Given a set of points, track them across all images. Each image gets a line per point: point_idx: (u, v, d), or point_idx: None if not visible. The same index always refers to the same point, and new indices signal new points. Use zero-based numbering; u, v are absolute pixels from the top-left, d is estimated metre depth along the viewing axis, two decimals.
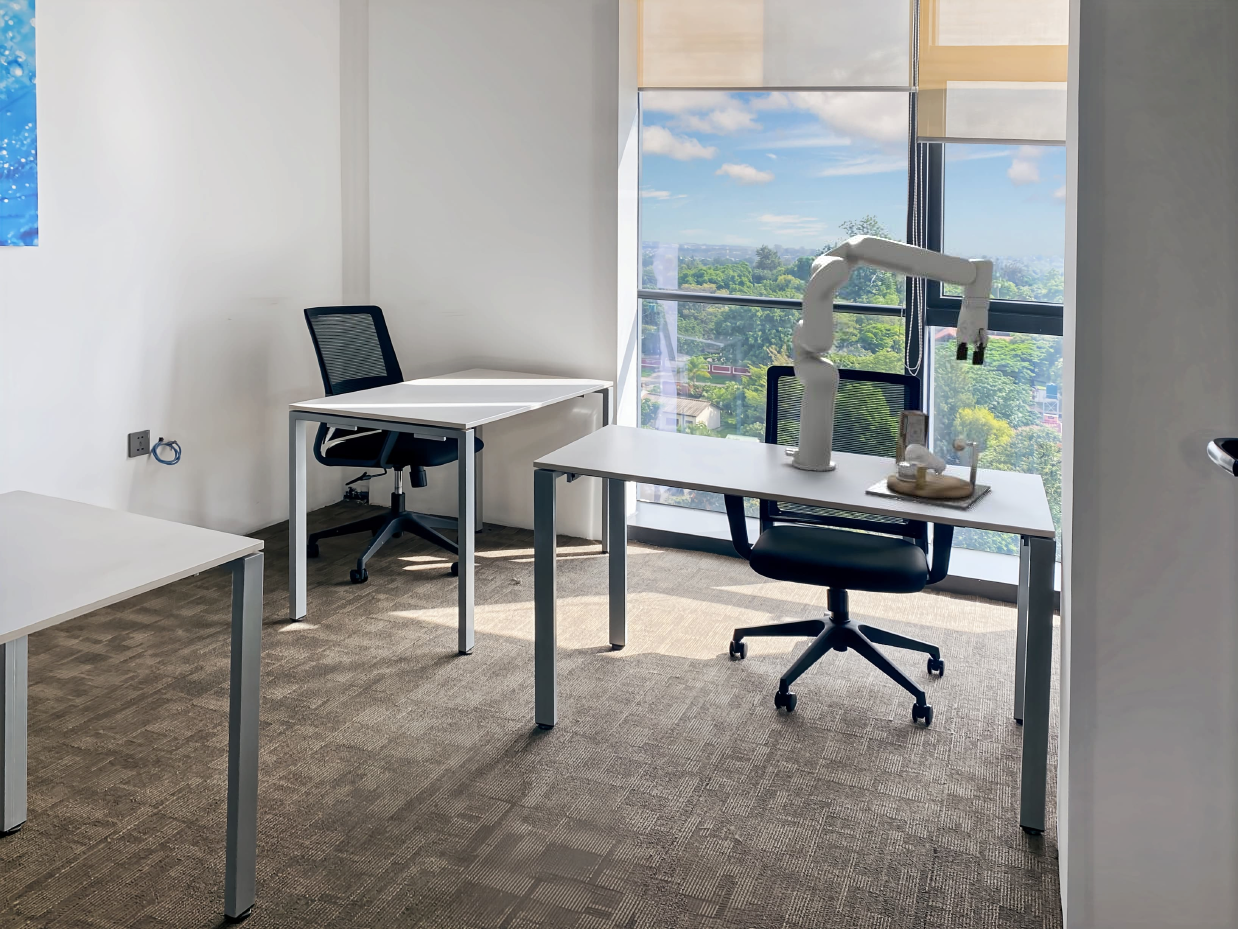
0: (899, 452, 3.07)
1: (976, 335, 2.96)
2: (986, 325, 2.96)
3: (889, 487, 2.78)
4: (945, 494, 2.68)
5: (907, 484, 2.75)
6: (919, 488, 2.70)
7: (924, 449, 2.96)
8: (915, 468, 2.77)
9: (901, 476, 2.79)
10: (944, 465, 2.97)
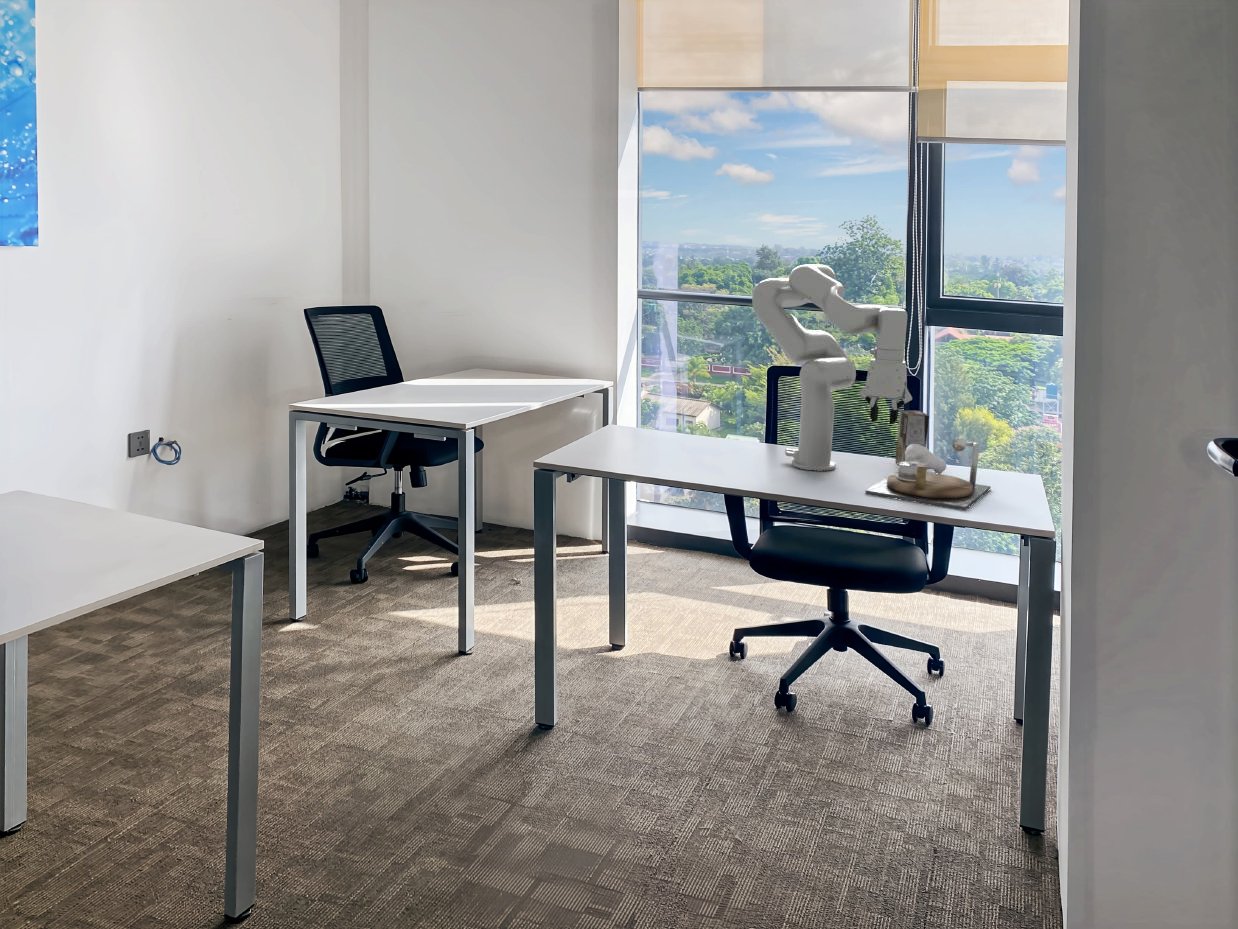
0: (899, 452, 3.07)
1: (903, 390, 2.76)
2: (906, 378, 2.78)
3: (889, 487, 2.78)
4: (945, 494, 2.68)
5: (907, 484, 2.75)
6: (919, 488, 2.70)
7: (924, 449, 2.96)
8: (915, 468, 2.77)
9: (901, 476, 2.79)
10: (944, 465, 2.97)
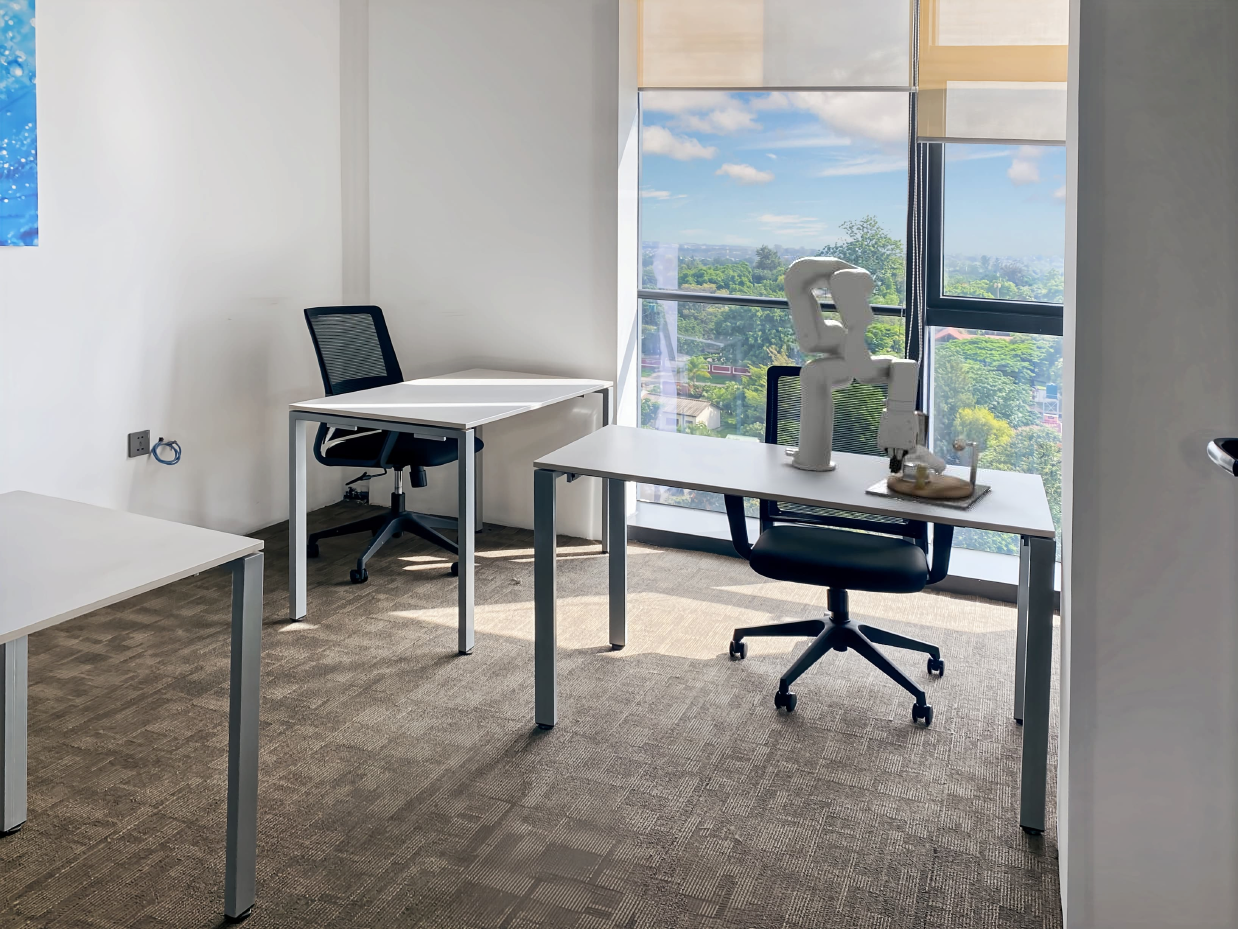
0: None
1: (915, 441, 2.77)
2: (918, 428, 2.79)
3: (889, 487, 2.78)
4: (945, 494, 2.68)
5: (907, 484, 2.75)
6: (919, 488, 2.70)
7: (924, 449, 2.96)
8: None
9: (905, 477, 2.79)
10: (944, 465, 2.97)
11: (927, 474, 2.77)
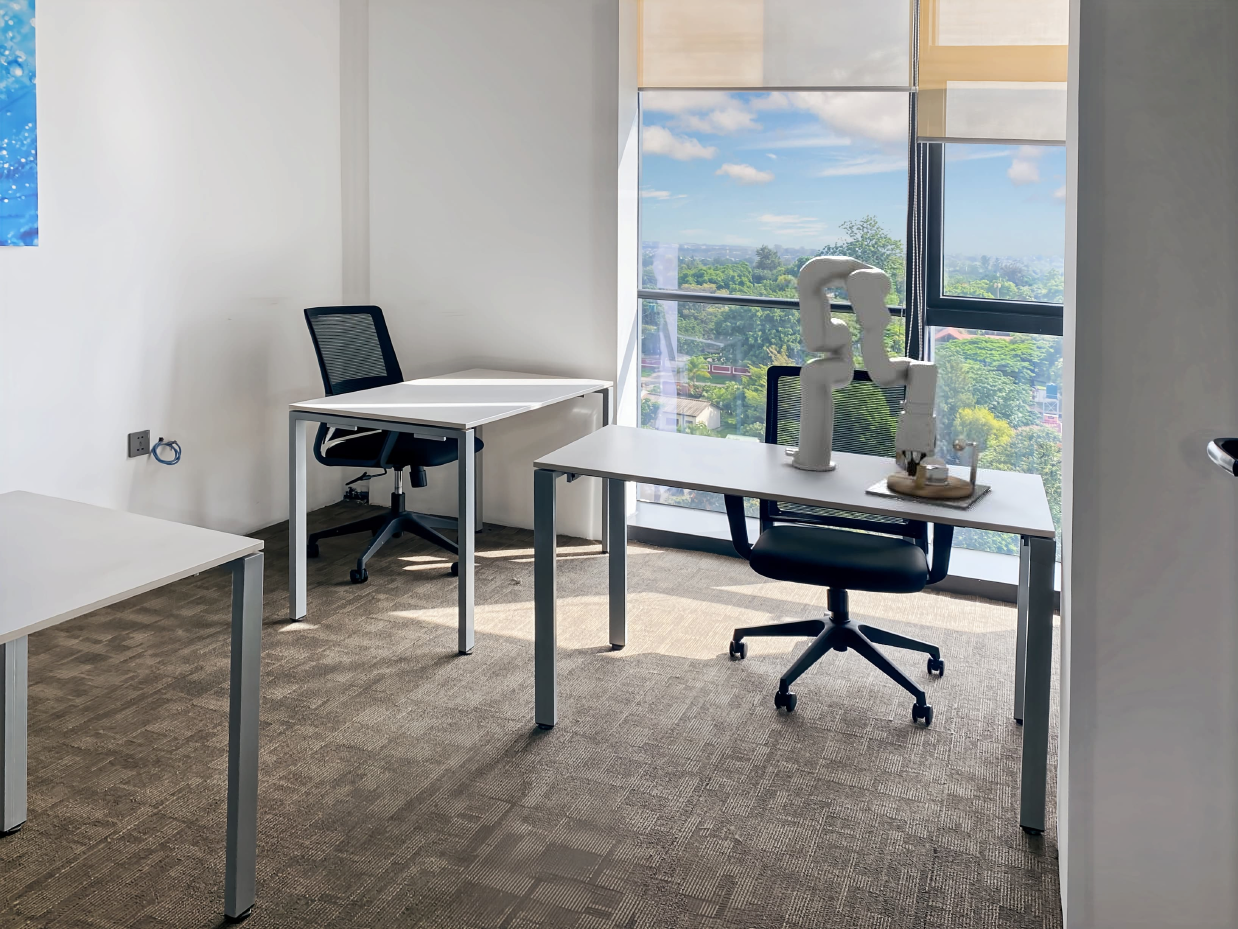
0: None
1: (933, 444, 2.75)
2: (936, 431, 2.76)
3: (889, 487, 2.78)
4: (945, 494, 2.68)
5: (907, 484, 2.75)
6: (919, 488, 2.70)
7: None
8: (937, 471, 2.74)
9: None
10: (944, 465, 2.97)
11: (945, 477, 2.75)
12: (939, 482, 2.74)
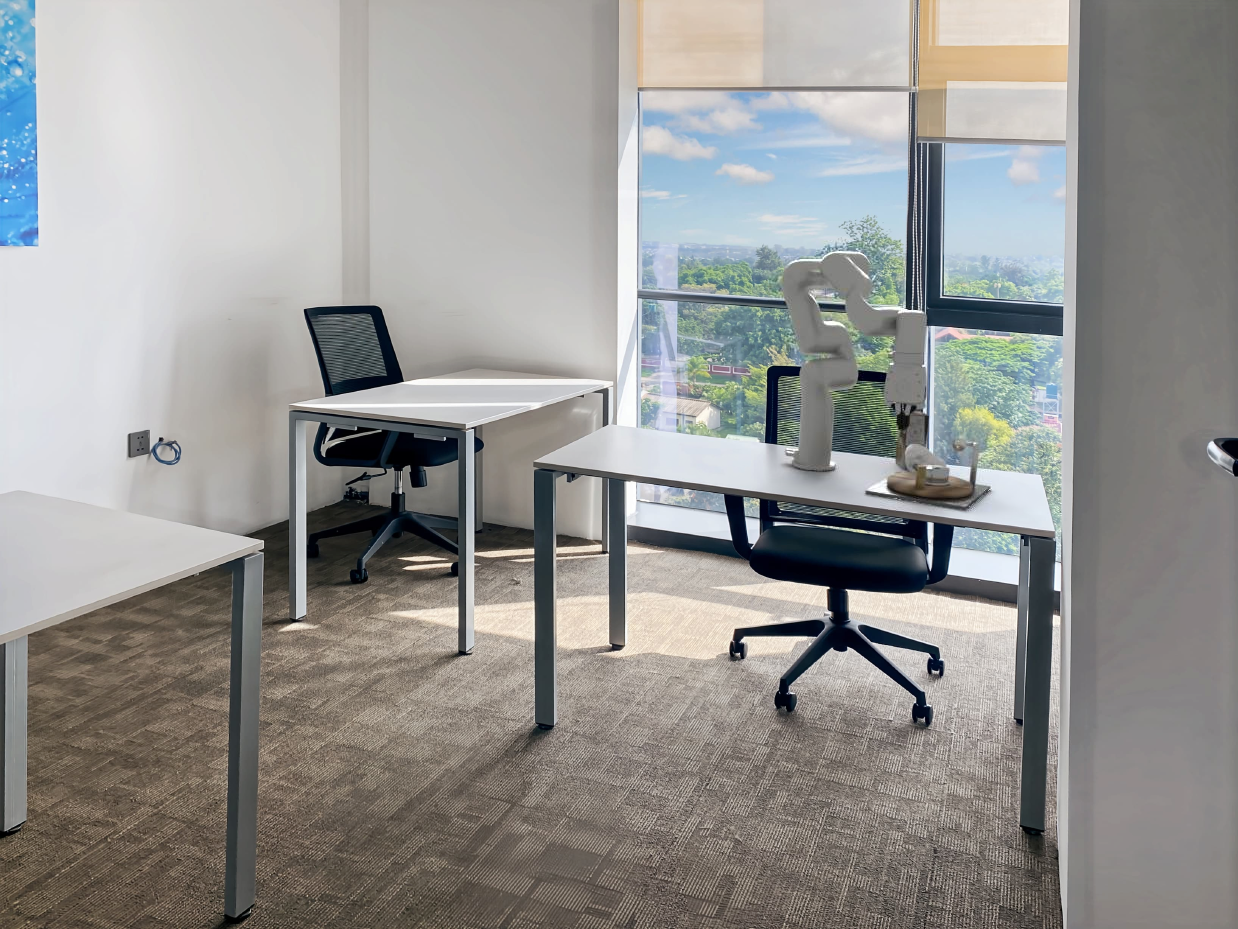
0: (899, 452, 3.07)
1: (923, 395, 2.66)
2: (926, 382, 2.68)
3: (889, 487, 2.78)
4: (945, 494, 2.68)
5: (907, 484, 2.75)
6: (919, 488, 2.70)
7: (924, 449, 2.96)
8: (938, 472, 2.73)
9: None
10: (944, 465, 2.97)
11: (946, 477, 2.75)
12: (940, 482, 2.74)
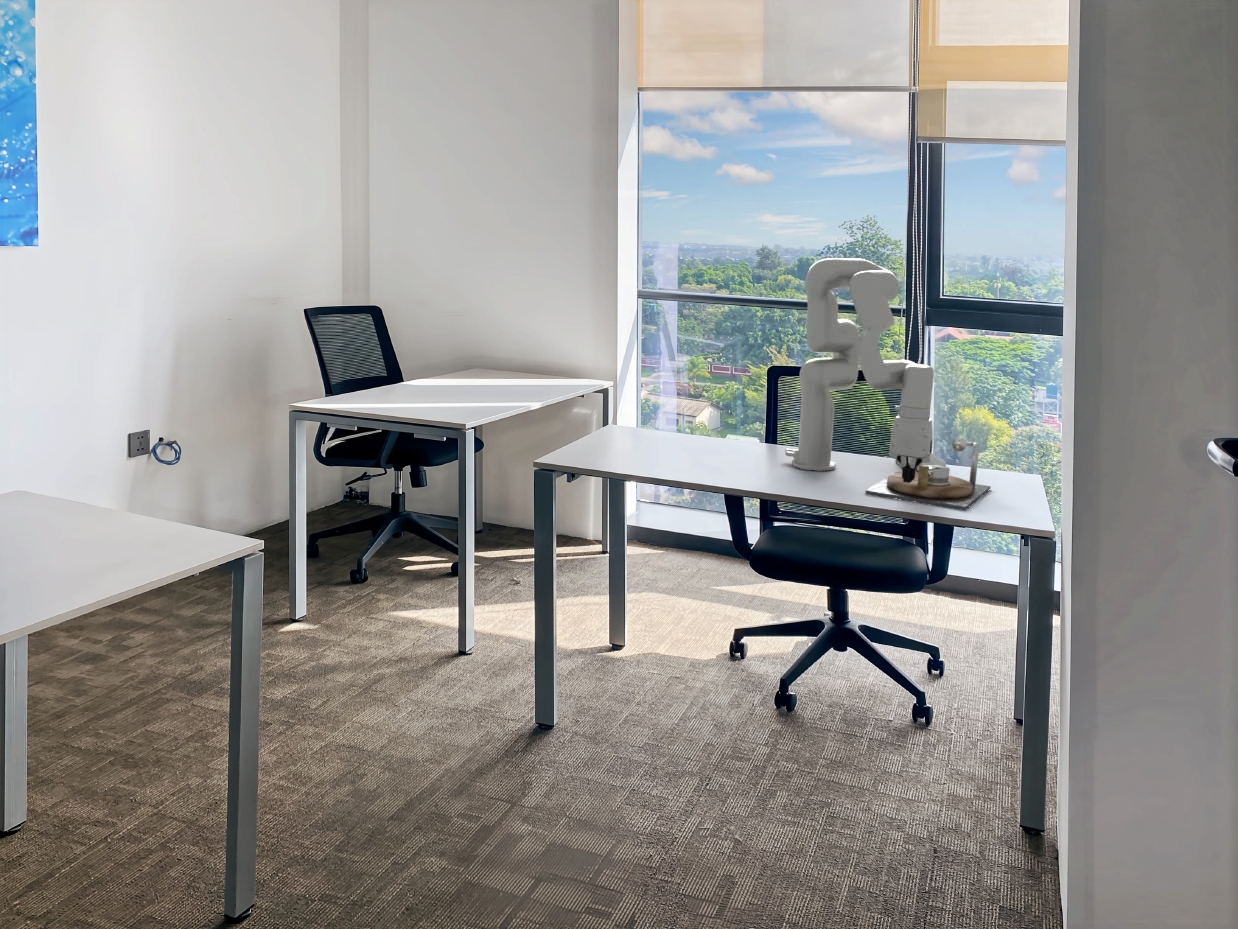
0: None
1: (929, 449, 2.67)
2: (932, 436, 2.69)
3: (889, 487, 2.78)
4: (948, 494, 2.68)
5: (908, 484, 2.75)
6: (921, 488, 2.69)
7: None
8: (939, 471, 2.74)
9: None
10: (944, 465, 2.97)
11: (947, 477, 2.75)
12: (941, 482, 2.74)
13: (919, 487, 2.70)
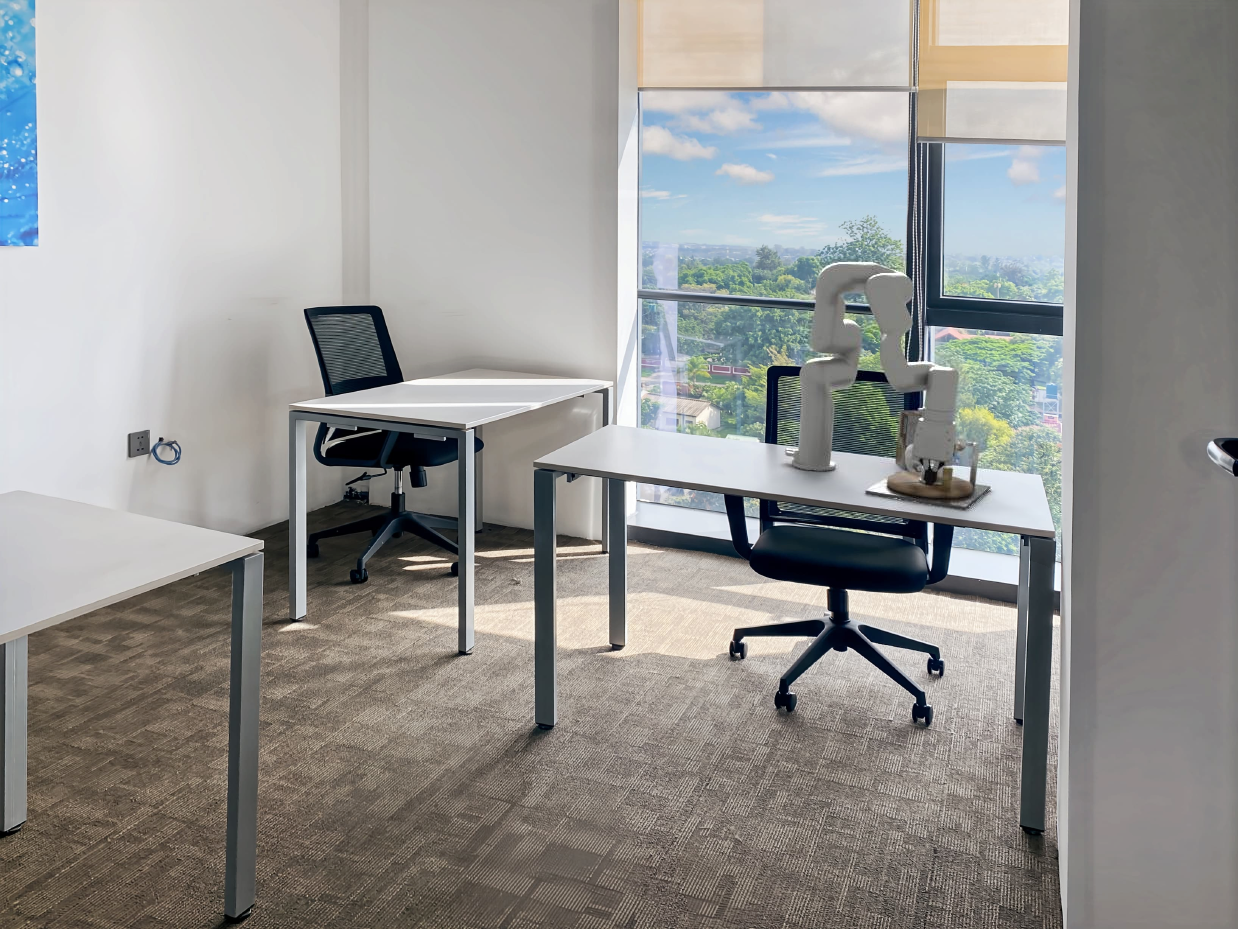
0: (899, 452, 3.07)
1: (952, 452, 2.65)
2: None
3: (889, 487, 2.78)
4: (968, 491, 2.71)
5: (926, 488, 2.71)
6: (948, 490, 2.69)
7: None
8: None
9: None
10: None
11: None
12: None
13: (946, 489, 2.68)
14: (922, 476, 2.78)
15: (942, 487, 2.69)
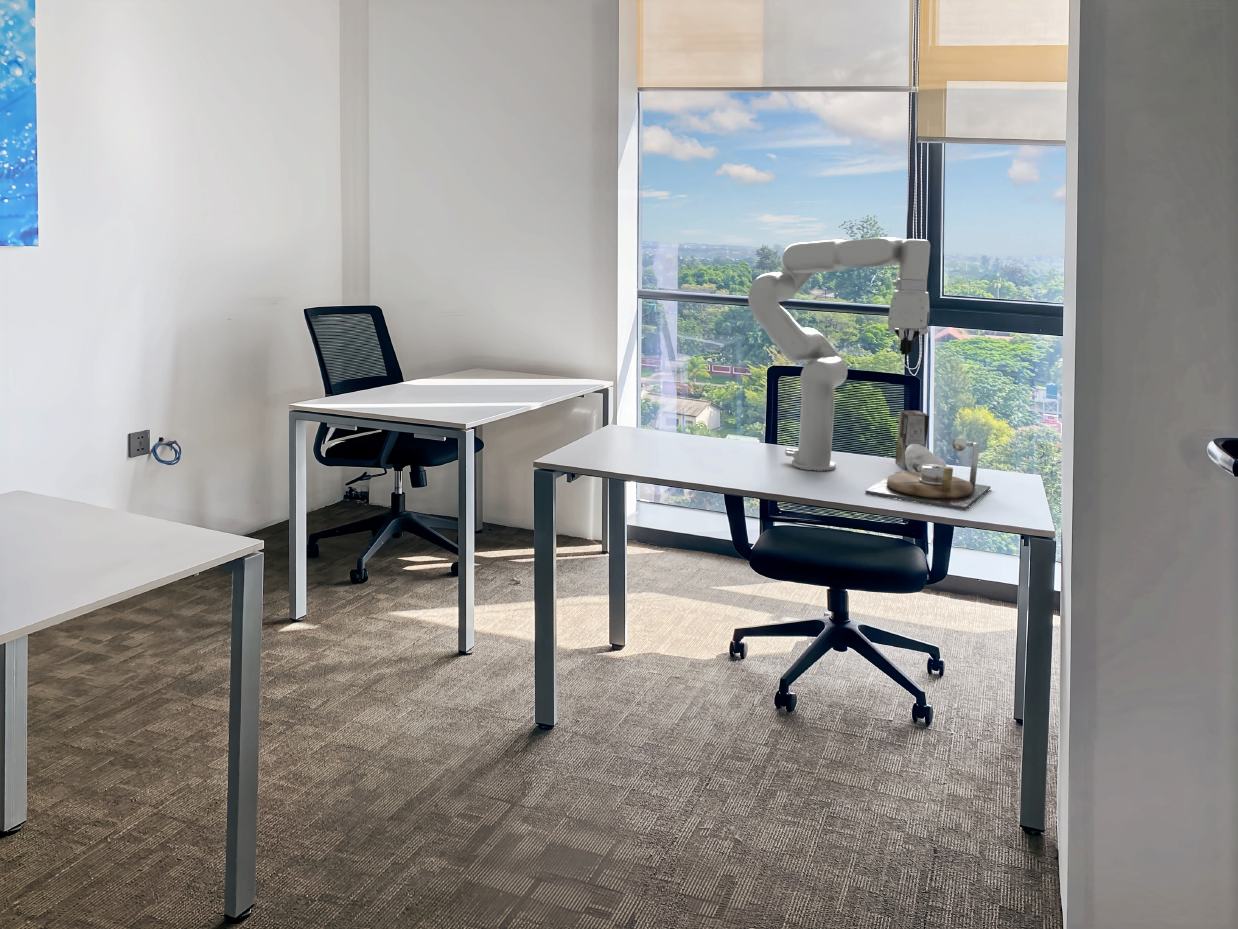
0: (899, 452, 3.07)
1: (926, 320, 2.78)
2: None
3: (889, 487, 2.78)
4: (968, 491, 2.71)
5: (926, 488, 2.71)
6: (949, 490, 2.69)
7: (924, 449, 2.96)
8: None
9: (932, 481, 2.75)
10: (944, 465, 2.97)
11: None
12: None
13: (946, 489, 2.68)
14: (922, 476, 2.78)
15: (942, 487, 2.69)
